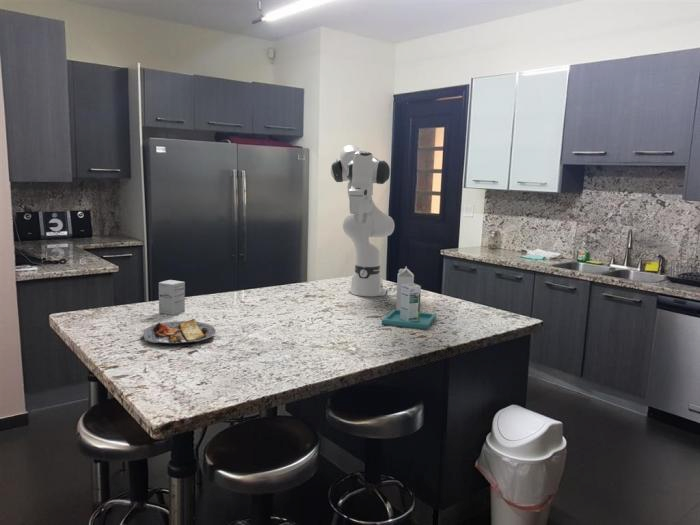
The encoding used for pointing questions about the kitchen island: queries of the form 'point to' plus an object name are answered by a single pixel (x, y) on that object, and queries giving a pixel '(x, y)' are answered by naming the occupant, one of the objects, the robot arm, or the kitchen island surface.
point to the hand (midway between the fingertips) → (360, 224)
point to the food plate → (186, 330)
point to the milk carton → (403, 278)
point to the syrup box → (410, 302)
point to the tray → (423, 322)
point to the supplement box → (171, 297)
